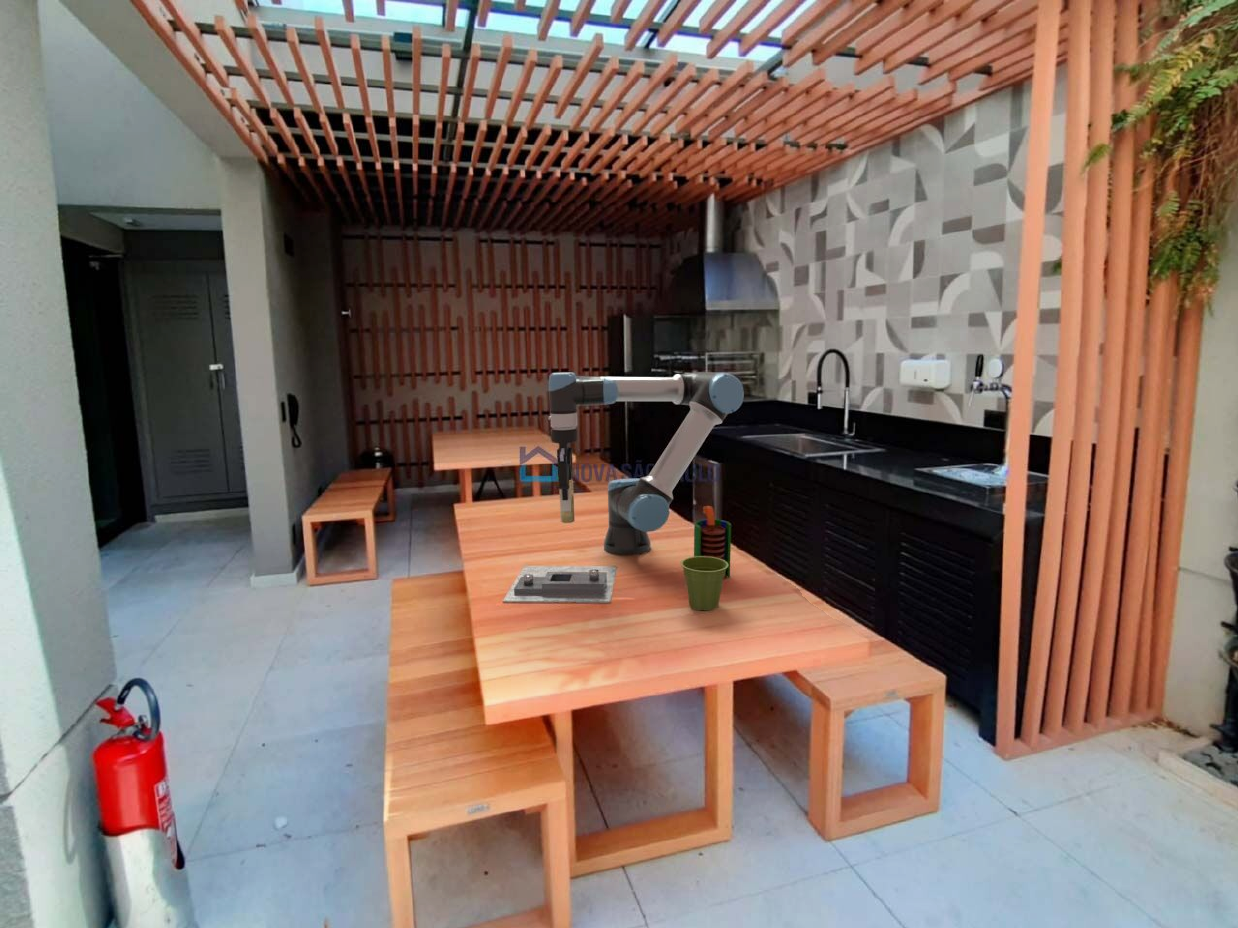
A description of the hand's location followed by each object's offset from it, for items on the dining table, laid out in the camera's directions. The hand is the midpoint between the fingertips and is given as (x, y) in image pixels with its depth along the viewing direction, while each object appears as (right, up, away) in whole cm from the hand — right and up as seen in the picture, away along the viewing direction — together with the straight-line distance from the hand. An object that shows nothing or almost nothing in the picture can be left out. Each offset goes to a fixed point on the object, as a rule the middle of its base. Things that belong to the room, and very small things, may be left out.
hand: (567, 508), depth 190 cm
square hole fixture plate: (0, -21, -6) cm, 21 cm away
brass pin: (0, -4, +1) cm, 4 cm away
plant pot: (+37, -23, -23) cm, 49 cm away
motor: (+41, -19, -2) cm, 45 cm away
